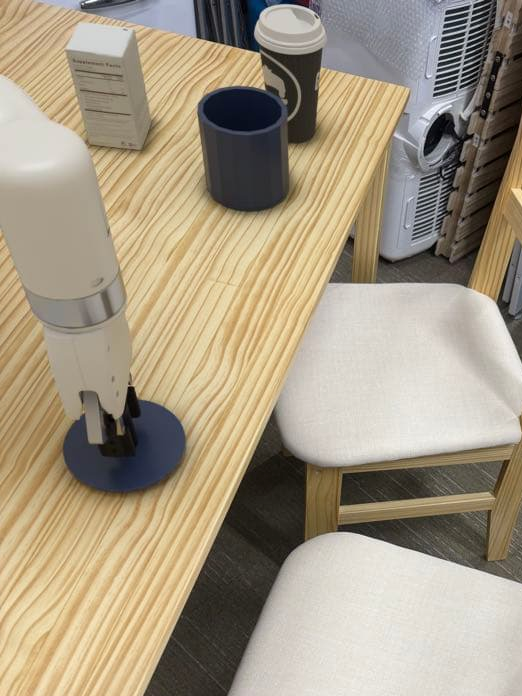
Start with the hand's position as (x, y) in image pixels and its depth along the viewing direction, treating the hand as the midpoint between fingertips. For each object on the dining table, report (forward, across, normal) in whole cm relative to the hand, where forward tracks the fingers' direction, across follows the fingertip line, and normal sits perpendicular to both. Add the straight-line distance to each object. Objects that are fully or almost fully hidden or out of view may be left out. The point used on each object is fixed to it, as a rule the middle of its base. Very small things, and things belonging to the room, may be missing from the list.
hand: (121, 433), depth 78 cm
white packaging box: (+3, -57, -7) cm, 57 cm away
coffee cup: (+3, -60, +17) cm, 62 cm away
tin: (+3, -46, +11) cm, 47 cm away
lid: (+2, 0, 0) cm, 2 cm away
